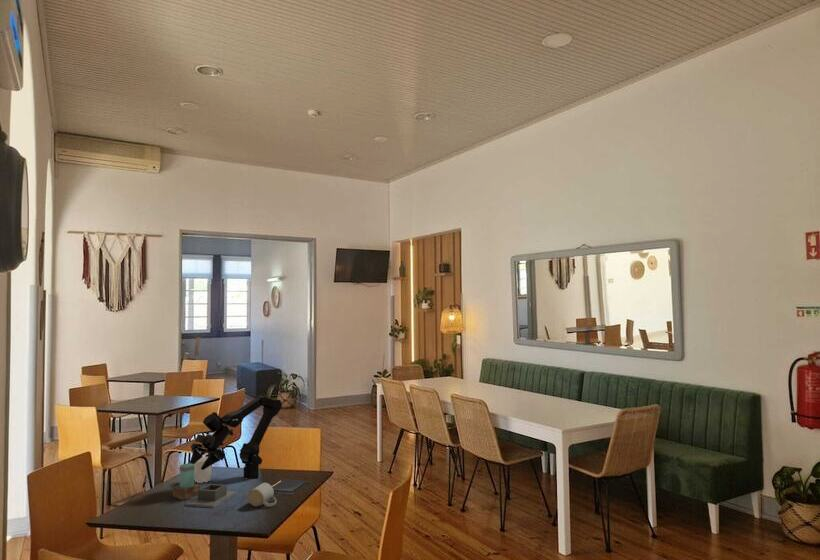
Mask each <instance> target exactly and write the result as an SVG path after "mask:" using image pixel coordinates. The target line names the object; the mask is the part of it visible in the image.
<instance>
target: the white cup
mask: <svg viewBox="0 0 820 560" xmlns="http://www.w3.org/2000/svg"><path fill="white" fill-rule="evenodd" d="M207 458H208V456H206V457H205V456H203V457H202V458H201V459H199V460H198V461H197V462H196V463H195V464H194V483H196V482H197V483H196V484H204V483H203V482H205V483H208V481H209V482H210V481H211V476H212V466H213V464H212V465H211V466H209V467H207V468H206V469H204V470H201V467H202V465H203V464H204V462H205V461H206V459H207Z"/></svg>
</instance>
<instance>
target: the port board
mask: <svg viewBox="0 0 820 560" xmlns="http://www.w3.org/2000/svg"><path fill="white" fill-rule="evenodd" d="M236 495H237V490H236V491H233V490H228V486H227V484H219V483H218V484H216V483H208V484H207V485H205V486H203V487H202V488H201V487H200V489H199V490H198V495H197V497H196V498H194V499H192V500H190V501H188V502H186V507H195V508H198V507H199V508H209V509H210V508H211V509H213V508H216V507H217V506H219V505H221V504H222V503H225V502H226V501H227V500H229V499H231V498H232V497H234V496H236Z"/></svg>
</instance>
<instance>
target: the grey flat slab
mask: <svg viewBox="0 0 820 560" xmlns="http://www.w3.org/2000/svg"><path fill="white" fill-rule="evenodd" d="M281 480H282V481H281ZM281 480H279V481H278V482H277V483H275V484H273V485H271V486H272V488H273V491H274V493H275V494H274V495H276V494H294V493H293V492H295V491H296V490H297V489H299V488H300V487H302V486H303V485H304V484H306V483H309V482H310V481H308V480H300V479H288V478H287V479H286V478H284V479H281ZM309 484H310V483H309ZM294 495H295V494H294Z"/></svg>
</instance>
